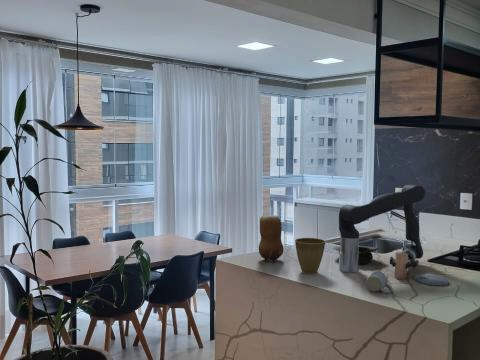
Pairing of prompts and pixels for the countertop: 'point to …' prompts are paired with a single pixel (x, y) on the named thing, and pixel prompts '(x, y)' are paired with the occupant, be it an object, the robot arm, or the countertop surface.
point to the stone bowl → (363, 254)
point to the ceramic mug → (378, 282)
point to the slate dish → (431, 280)
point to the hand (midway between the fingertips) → (400, 265)
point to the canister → (401, 265)
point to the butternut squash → (270, 238)
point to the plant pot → (309, 254)
